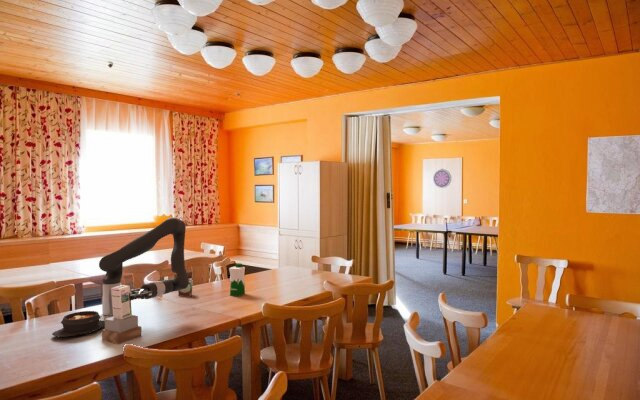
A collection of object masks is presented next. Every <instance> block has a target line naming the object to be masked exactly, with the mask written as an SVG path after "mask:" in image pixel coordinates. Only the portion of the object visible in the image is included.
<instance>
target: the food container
mask: <svg viewBox="0 0 640 400" xmlns="http://www.w3.org/2000/svg"><path fill="white" fill-rule="evenodd" d="M194 283H195V282H194V280H193V279H190V278H189V285H188V287H187V288H185V289H182V290H178V291H177V293H178V296H181V297H188V298H189V297H190V298H191V297H192V295H193V286H194Z"/></svg>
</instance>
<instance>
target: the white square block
mask: <svg viewBox="0 0 640 400" xmlns="http://www.w3.org/2000/svg"><path fill="white" fill-rule="evenodd" d="M104 321H105V326H104V329H105V330H108V331H113V332H117V333H121V332H124V331H127V330H130V329H132V328H135V327H138V326H139V316H138V315H133V314H132V316H129V317H127V318H124V319H115V318H113V316H110V317H106V318H104Z"/></svg>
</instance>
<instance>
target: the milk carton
mask: <svg viewBox="0 0 640 400" xmlns="http://www.w3.org/2000/svg"><path fill="white" fill-rule="evenodd" d="M245 269H246V267H245V266H243V263H241V262H240V263H235V266H231V267H229V268H228V271H229V275H230V276H229V280H230V281H229V282H230V283H229V285H230V288H229V296H233V297H241V296H243V295H245V294H246V291H245V289H246V288H245V285H246V284H245V271H246V270H245Z"/></svg>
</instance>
